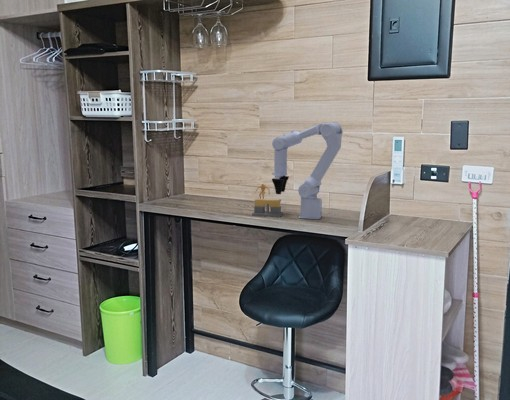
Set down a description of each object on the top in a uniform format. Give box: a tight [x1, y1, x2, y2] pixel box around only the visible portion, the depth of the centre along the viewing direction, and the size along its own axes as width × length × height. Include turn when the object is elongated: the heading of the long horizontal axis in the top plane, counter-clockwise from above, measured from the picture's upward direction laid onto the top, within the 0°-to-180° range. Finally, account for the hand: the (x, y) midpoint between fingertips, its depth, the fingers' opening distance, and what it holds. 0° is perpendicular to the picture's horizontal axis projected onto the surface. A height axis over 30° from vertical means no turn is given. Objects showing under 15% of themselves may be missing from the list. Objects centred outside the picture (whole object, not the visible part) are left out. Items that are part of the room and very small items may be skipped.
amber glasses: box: [254, 197, 282, 208], centre depth 238 cm, size 4×12×3 cm, turn 75°
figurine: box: [254, 183, 271, 199], centre depth 254 cm, size 8×6×12 cm
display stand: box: [251, 204, 284, 218], centre depth 237 cm, size 7×13×5 cm, turn 74°
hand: (280, 192), depth 239 cm, fingers open, 7 cm apart
